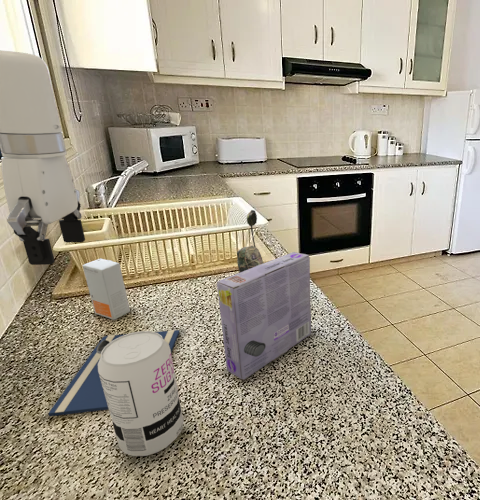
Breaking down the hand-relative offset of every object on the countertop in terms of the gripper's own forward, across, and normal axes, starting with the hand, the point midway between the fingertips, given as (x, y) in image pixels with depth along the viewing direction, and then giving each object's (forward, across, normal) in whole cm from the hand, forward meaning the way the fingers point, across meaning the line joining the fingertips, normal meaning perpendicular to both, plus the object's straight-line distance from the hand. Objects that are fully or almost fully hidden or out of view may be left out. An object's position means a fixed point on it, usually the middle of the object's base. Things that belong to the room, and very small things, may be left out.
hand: (59, 252), depth 61 cm
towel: (+20, +5, +8) cm, 22 cm away
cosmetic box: (+21, -15, -1) cm, 26 cm away
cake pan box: (+20, +3, +34) cm, 40 cm away
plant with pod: (+20, -23, +30) cm, 42 cm away
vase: (+20, +6, +8) cm, 22 cm away
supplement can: (+20, +21, +18) cm, 34 cm away
